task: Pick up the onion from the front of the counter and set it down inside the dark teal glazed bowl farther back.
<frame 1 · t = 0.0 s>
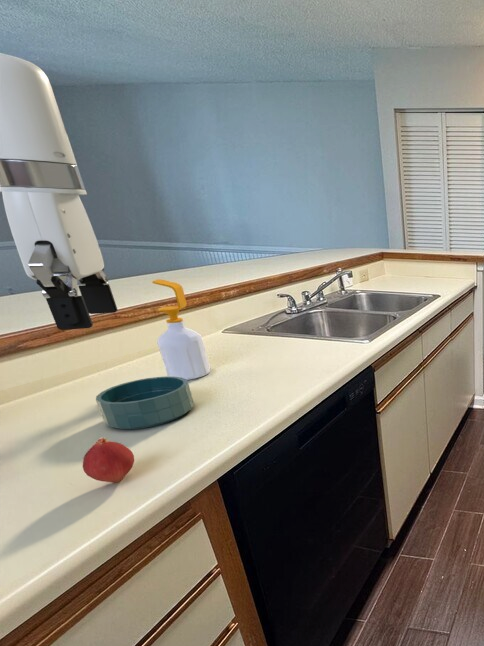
hand: (90, 320, 57), 26 cm above the countertop, tool pointing down, fingers open, 9 cm apart
onion: (117, 482, 67), on the countertop
soap bottle: (190, 375, 111), on the countertop
bowl: (152, 415, 89), on the countertop
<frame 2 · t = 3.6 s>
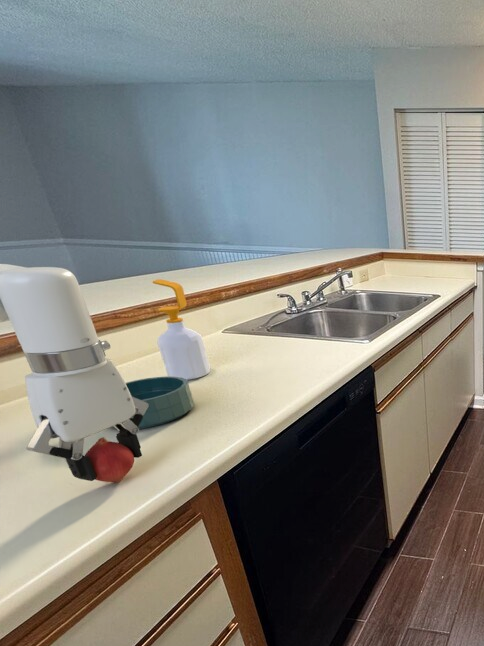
hand: (110, 465, 66), 3 cm above the countertop, tool pointing down, fingers closed on onion, 5 cm apart
onion: (117, 482, 67), on the countertop, touching gripper
everything else where it was.
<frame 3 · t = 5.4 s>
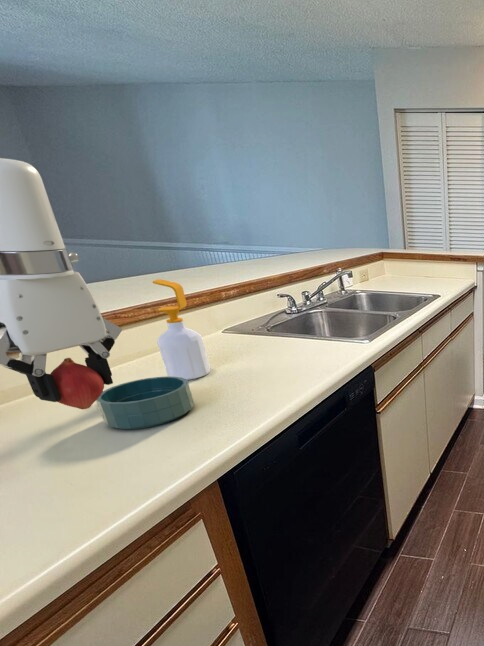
hand: (77, 390, 61), 16 cm above the countertop, tool pointing down, fingers closed on onion, 5 cm apart
onion: (85, 410, 63), point 13 cm above the countertop, touching gripper
everything else where it was.
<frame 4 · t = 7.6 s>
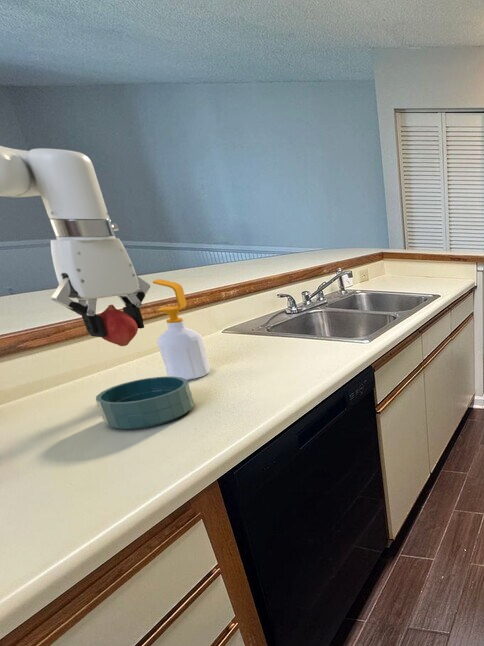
hand: (118, 331, 79), 19 cm above the countertop, tool pointing down, fingers closed on onion, 5 cm apart
onion: (123, 347, 81), point 16 cm above the countertop, touching gripper
everything else where it was.
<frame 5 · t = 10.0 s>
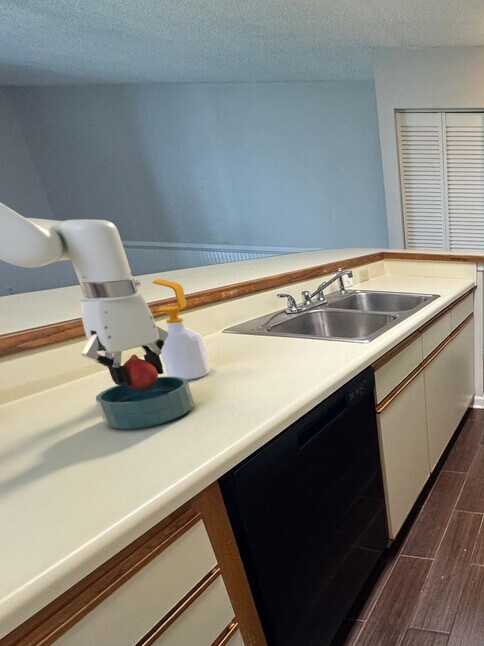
hand: (140, 378, 86), 8 cm above the countertop, tool pointing down, fingers closed on onion, 5 cm apart
onion: (145, 392, 87), point 5 cm above the countertop, touching gripper
everything else where it was.
when the fingers open (4 cm above the countertop, at t = 11.8 s): onion stays where it is, resting on bowl.
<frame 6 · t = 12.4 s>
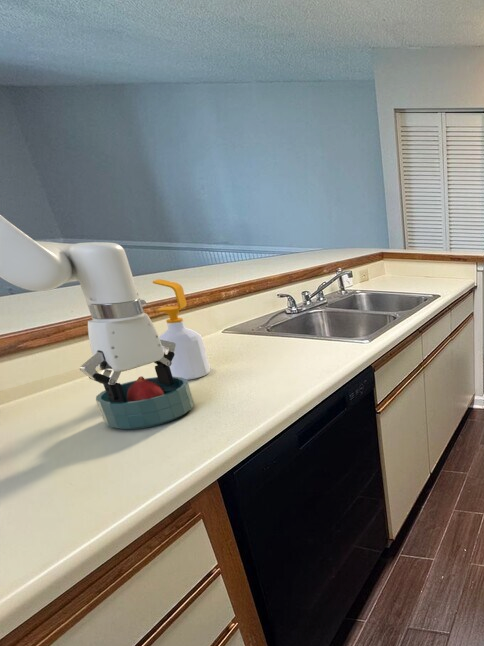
hand: (144, 392, 87), 5 cm above the countertop, tool pointing down, fingers open, 9 cm apart
onion: (151, 412, 89), point 1 cm above the countertop, touching bowl
everything else where it was.
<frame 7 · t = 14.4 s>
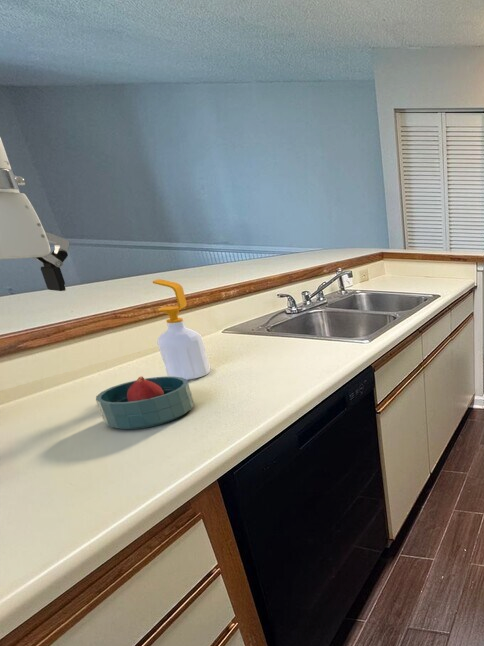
hand: (22, 294, 70), 27 cm above the countertop, tool pointing down, fingers open, 9 cm apart
nothing on the countertop moved.
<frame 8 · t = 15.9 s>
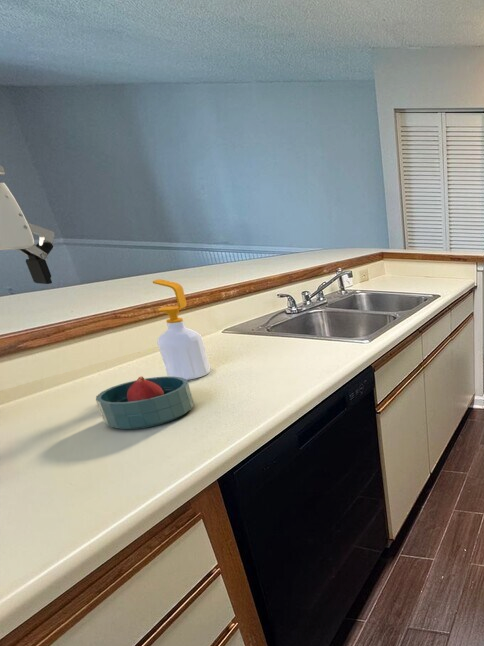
hand: (6, 287, 68), 28 cm above the countertop, tool pointing down, fingers open, 9 cm apart
nothing on the countertop moved.
at the end: onion inside the target area in the bowl (0.1 cm from its centre), point 0.6 cm above the bowl's base; the gripper is holding nothing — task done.
